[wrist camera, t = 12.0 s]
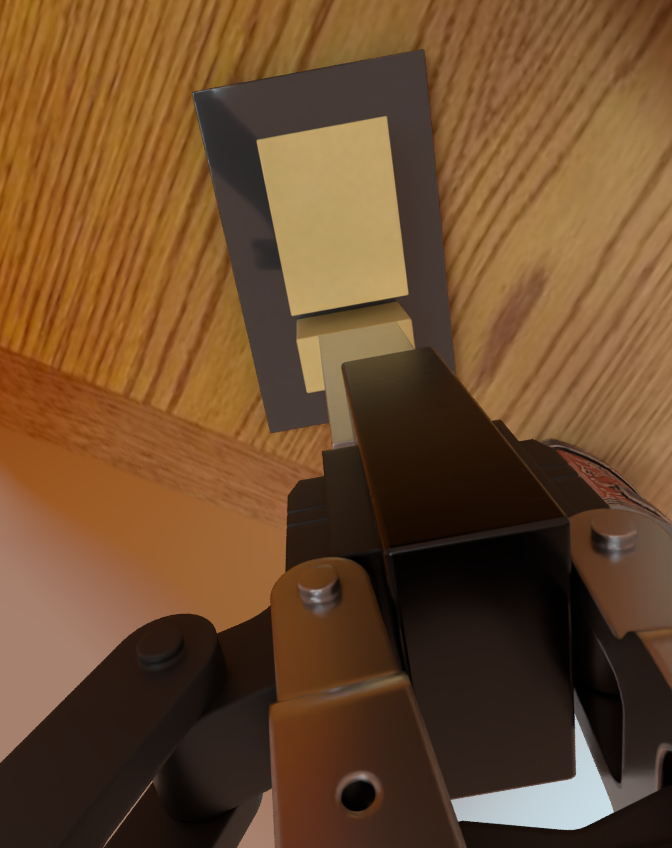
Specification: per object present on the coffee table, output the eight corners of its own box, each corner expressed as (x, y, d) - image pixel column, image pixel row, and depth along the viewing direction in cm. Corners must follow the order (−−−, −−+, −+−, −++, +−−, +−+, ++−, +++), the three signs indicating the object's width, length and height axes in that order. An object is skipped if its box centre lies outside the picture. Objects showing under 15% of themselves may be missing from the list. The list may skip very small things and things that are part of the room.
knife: (328, 388, 23) (387, 814, 8) (309, 286, 22) (336, 560, 6) (403, 374, 23) (616, 774, 8) (389, 272, 22) (622, 509, 6)
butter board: (271, 425, 33) (266, 467, 28) (195, 95, 26) (172, 76, 22) (453, 392, 32) (480, 429, 28) (419, 54, 26) (446, 25, 22)
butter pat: (305, 367, 30) (307, 393, 26) (296, 319, 29) (296, 339, 26) (403, 350, 30) (418, 373, 26) (397, 301, 29) (411, 318, 25)
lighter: (651, 492, 36) (775, 602, 26) (612, 534, 37) (719, 654, 27) (549, 426, 34) (645, 520, 24) (511, 472, 35) (589, 579, 25)
